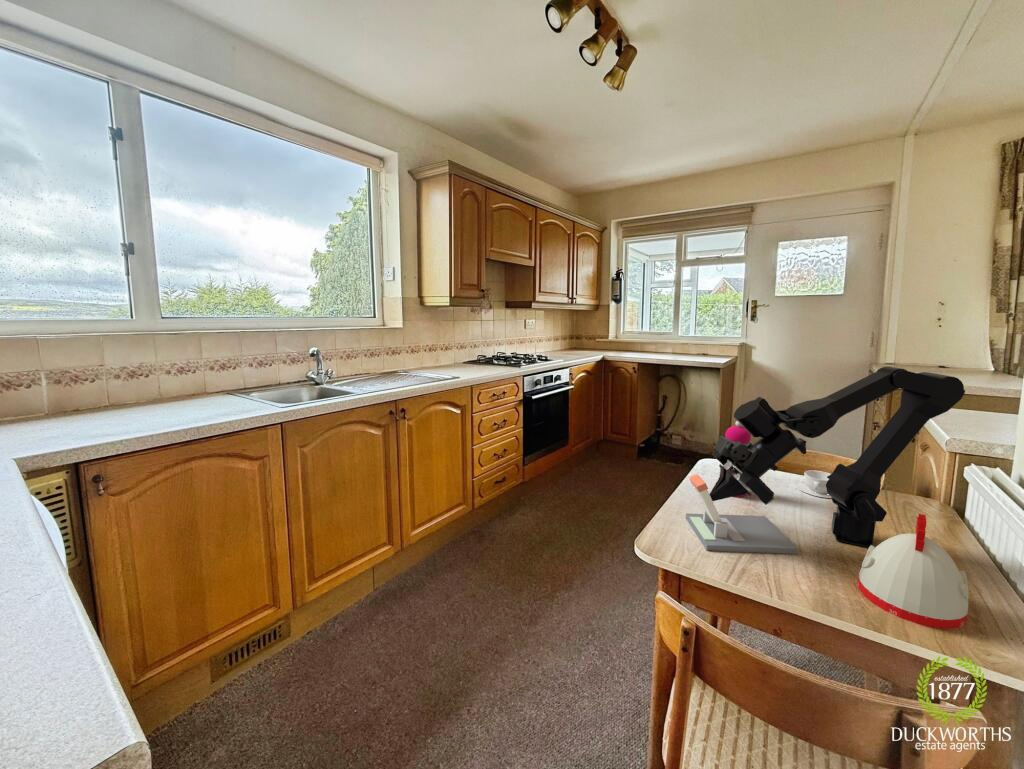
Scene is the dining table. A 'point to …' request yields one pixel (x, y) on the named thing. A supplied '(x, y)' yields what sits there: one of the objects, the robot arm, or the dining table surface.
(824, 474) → the teacup
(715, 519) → the switch lever
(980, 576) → the dining table surface
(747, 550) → the switch panel
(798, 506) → the dining table surface
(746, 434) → the pepper mill
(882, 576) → the kitchen timer
